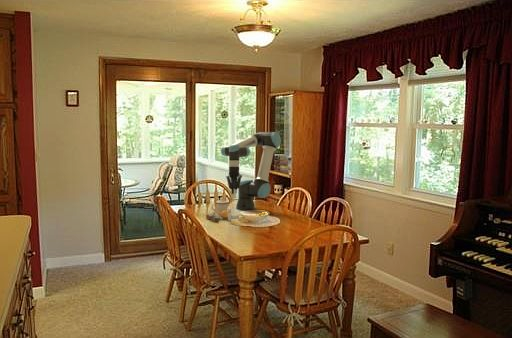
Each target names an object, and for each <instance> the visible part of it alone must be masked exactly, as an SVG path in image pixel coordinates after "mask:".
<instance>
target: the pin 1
mask: <svg viewBox="0 0 512 338" xmlns="http://www.w3.org/2000/svg"><path fill="white" fill-rule="evenodd" d="M209 215H212V216H215V217H218V220H220V219H221V215H218V214H216V212H215V211H213V210H211V211H210V213H209Z"/></svg>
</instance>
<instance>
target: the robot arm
mask: <svg viewBox="0 0 512 338" xmlns="http://www.w3.org/2000/svg"><path fill="white" fill-rule="evenodd" d="M281 143H282V139H281V136H280V133H278V132H274V131H260V132H259V131H258V132H256V133H254V134H251V135H249V136H248V137H247V138H244V139H243V140H240V141H238V142H235V143H233V144H230V145H223V146H222V147H221V149H220V153H221V155H222V156H223V157H228V172H229V173H228V175H225V178H226V180H227V186H228V189H230V194H231V198H232V199H237V194H238V200H237V201H236V202H237V203H236V205H235V206H236V207H235V208H236V210H240V211H252V210H255V209H256V206H255V205H256V204H255V202H254V198H260V199H262V198H263V199H264V198H267V197H268V196H269V195H270V192H271V184H270V181H269V180H268V179H269V174H270V172H271V167H272V166H271V165H272V162H273V158H274V152H275V151H277V148H279V147H280V146H281ZM251 147H252V148H254V147H262V149H263V150H262V154H261V159H260V162H259V169H258V170H257V171H258V172H257V176H256V177H255V179H254V180H253V179H243V180H242V177H243V175H242V174H241V173H240V158H247V157H249V155H250V154H251V150H250V148H251ZM251 209H252V210H251Z"/></svg>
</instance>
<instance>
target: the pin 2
mask: <svg viewBox="0 0 512 338" xmlns="http://www.w3.org/2000/svg"><path fill="white" fill-rule="evenodd" d="M227 211H228V220H227V221H228V222H231V221H232V219H231V216H232V208H227Z"/></svg>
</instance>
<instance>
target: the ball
mask: <svg viewBox="0 0 512 338" xmlns="http://www.w3.org/2000/svg"><path fill="white" fill-rule="evenodd" d="M220 216H221V217H222V218H223V219H226V218H228V210H227V211H222V212H221V215H220Z"/></svg>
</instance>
